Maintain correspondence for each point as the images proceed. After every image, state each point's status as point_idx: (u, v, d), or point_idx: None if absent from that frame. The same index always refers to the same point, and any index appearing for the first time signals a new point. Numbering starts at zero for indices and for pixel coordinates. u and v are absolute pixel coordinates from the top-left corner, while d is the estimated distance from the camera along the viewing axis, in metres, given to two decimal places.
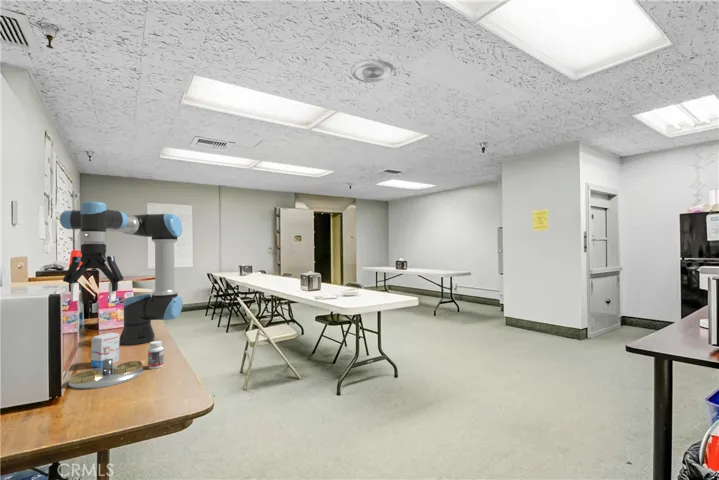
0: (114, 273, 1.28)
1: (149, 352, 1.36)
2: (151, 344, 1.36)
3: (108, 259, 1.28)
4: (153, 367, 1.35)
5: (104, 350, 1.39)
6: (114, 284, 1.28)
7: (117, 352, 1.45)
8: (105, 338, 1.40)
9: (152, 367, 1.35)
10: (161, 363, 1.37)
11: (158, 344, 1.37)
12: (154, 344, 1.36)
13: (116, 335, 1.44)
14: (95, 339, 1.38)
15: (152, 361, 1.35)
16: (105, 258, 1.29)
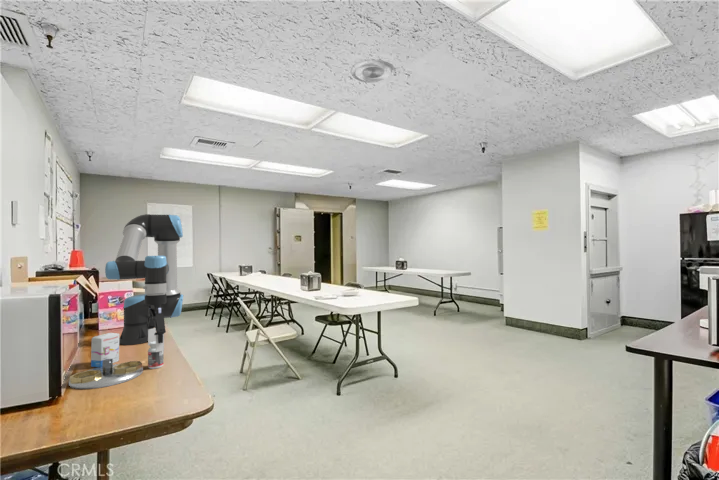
0: (157, 326, 1.31)
1: (149, 352, 1.36)
2: (151, 344, 1.36)
3: (155, 311, 1.33)
4: (153, 367, 1.35)
5: (104, 350, 1.39)
6: (158, 336, 1.31)
7: (117, 352, 1.45)
8: (105, 338, 1.40)
9: (152, 367, 1.35)
10: (161, 363, 1.37)
11: None
12: (154, 344, 1.36)
13: (116, 335, 1.44)
14: (95, 339, 1.38)
15: (152, 361, 1.35)
16: None
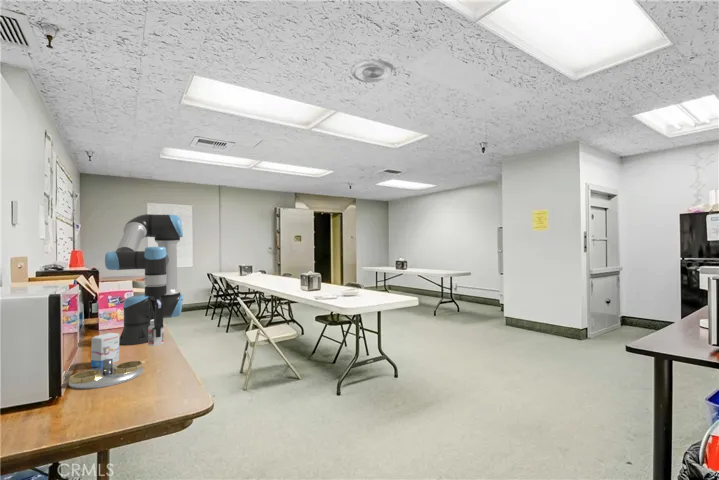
0: (155, 320, 1.33)
1: (149, 329, 1.36)
2: (151, 321, 1.37)
3: (155, 306, 1.33)
4: (153, 344, 1.36)
5: (104, 350, 1.39)
6: (156, 331, 1.35)
7: (117, 352, 1.45)
8: (105, 338, 1.40)
9: (152, 344, 1.36)
10: None
11: None
12: None
13: (116, 335, 1.44)
14: (95, 339, 1.38)
15: (152, 339, 1.36)
16: (157, 302, 1.35)
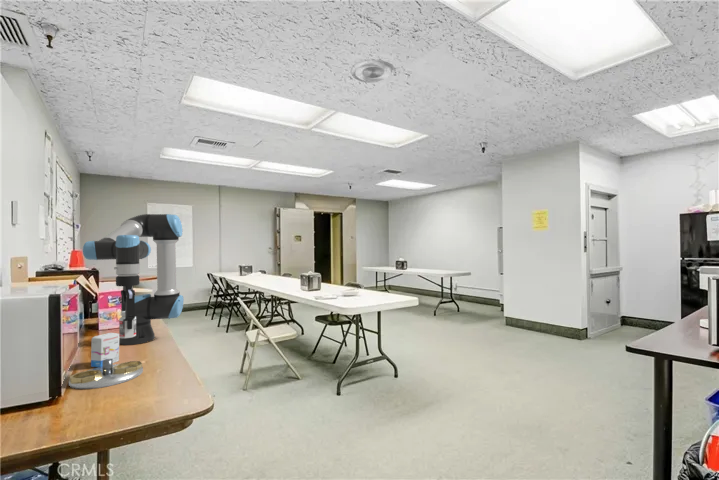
0: (126, 311, 1.28)
1: (120, 321, 1.30)
2: (122, 313, 1.31)
3: (126, 296, 1.28)
4: (124, 336, 1.30)
5: (104, 350, 1.39)
6: (127, 322, 1.29)
7: (117, 352, 1.45)
8: (105, 338, 1.40)
9: (123, 336, 1.30)
10: None
11: None
12: None
13: (116, 335, 1.44)
14: (95, 339, 1.38)
15: (123, 331, 1.30)
16: (128, 292, 1.29)
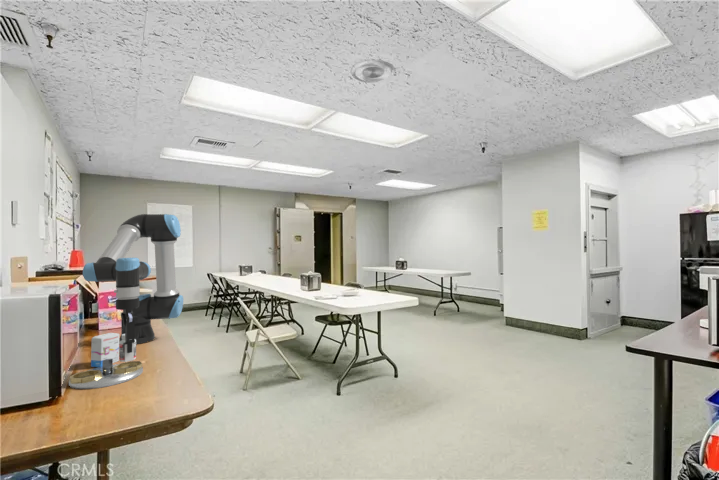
0: (126, 335, 1.27)
1: (120, 344, 1.30)
2: (122, 336, 1.30)
3: (126, 319, 1.27)
4: (124, 360, 1.30)
5: (104, 350, 1.39)
6: (127, 346, 1.29)
7: (117, 352, 1.45)
8: (105, 338, 1.40)
9: (123, 360, 1.30)
10: None
11: None
12: None
13: (116, 335, 1.44)
14: (95, 339, 1.38)
15: (123, 354, 1.30)
16: (128, 316, 1.29)
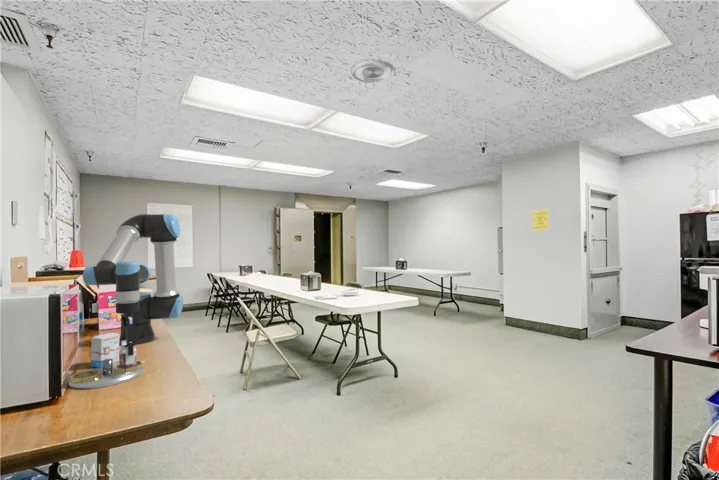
0: (127, 337, 1.26)
1: (120, 354, 1.30)
2: (122, 345, 1.30)
3: (126, 322, 1.27)
4: None
5: (104, 350, 1.39)
6: (128, 348, 1.27)
7: (117, 352, 1.45)
8: (105, 338, 1.40)
9: None
10: (133, 365, 1.32)
11: None
12: None
13: (116, 335, 1.44)
14: (95, 339, 1.38)
15: (123, 363, 1.30)
16: None
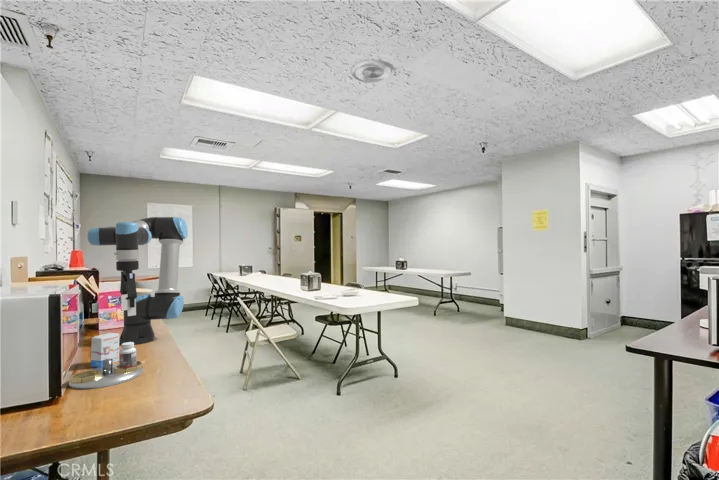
0: (128, 290, 1.33)
1: (120, 354, 1.30)
2: (123, 345, 1.30)
3: (127, 276, 1.35)
4: None
5: (104, 350, 1.39)
6: (130, 301, 1.34)
7: (117, 352, 1.45)
8: (105, 338, 1.40)
9: None
10: (133, 365, 1.32)
11: (130, 345, 1.31)
12: (126, 345, 1.30)
13: (116, 335, 1.44)
14: (95, 339, 1.38)
15: (123, 363, 1.30)
16: None
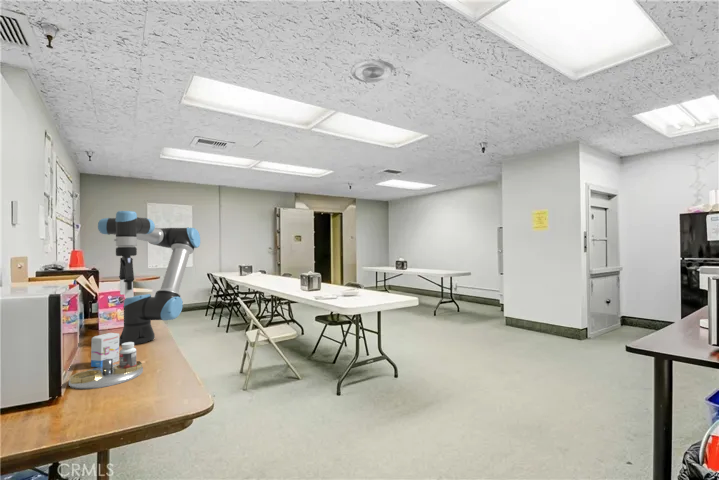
0: (126, 273, 1.43)
1: (120, 354, 1.30)
2: (123, 345, 1.30)
3: (125, 261, 1.45)
4: None
5: (104, 350, 1.39)
6: (127, 283, 1.43)
7: (117, 352, 1.45)
8: (105, 338, 1.40)
9: None
10: (133, 365, 1.32)
11: (130, 345, 1.31)
12: (126, 345, 1.30)
13: (116, 335, 1.44)
14: (95, 339, 1.38)
15: (123, 363, 1.30)
16: None
